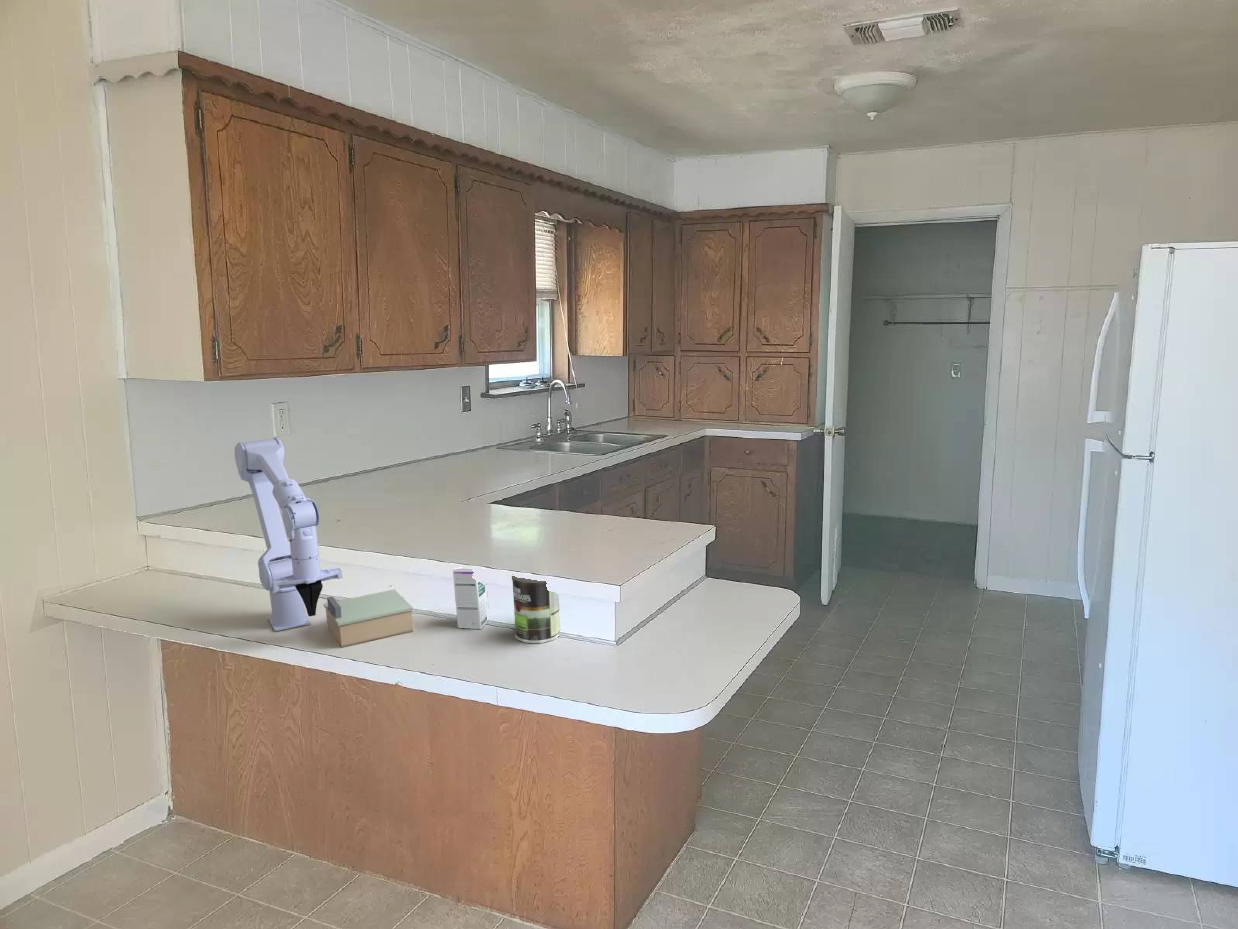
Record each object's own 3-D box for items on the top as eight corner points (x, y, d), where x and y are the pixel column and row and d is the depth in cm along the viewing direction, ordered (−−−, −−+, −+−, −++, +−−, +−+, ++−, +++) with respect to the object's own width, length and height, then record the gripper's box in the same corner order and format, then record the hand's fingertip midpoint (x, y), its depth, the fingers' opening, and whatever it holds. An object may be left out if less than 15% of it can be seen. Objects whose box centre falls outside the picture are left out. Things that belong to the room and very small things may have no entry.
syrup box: (481, 630, 199) (477, 569, 196) (456, 628, 200) (452, 568, 197) (489, 620, 205) (485, 561, 202) (465, 619, 206) (461, 560, 203)
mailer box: (327, 627, 204) (325, 607, 203) (395, 612, 211) (393, 593, 210) (341, 647, 192) (339, 626, 191) (413, 631, 200) (411, 610, 199)
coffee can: (532, 647, 188) (528, 585, 186) (506, 634, 196) (502, 574, 193) (570, 634, 195) (567, 574, 192) (544, 622, 203) (540, 564, 200)
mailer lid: (323, 606, 203) (322, 593, 202) (394, 591, 211) (393, 579, 210) (338, 626, 190) (337, 612, 190) (413, 610, 198) (412, 597, 198)
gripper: (273, 567, 185) (280, 627, 187) (343, 554, 192) (349, 613, 194) (267, 558, 191) (274, 617, 193) (335, 546, 198) (341, 603, 200)
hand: (311, 614), depth 194 cm, fingers closed
